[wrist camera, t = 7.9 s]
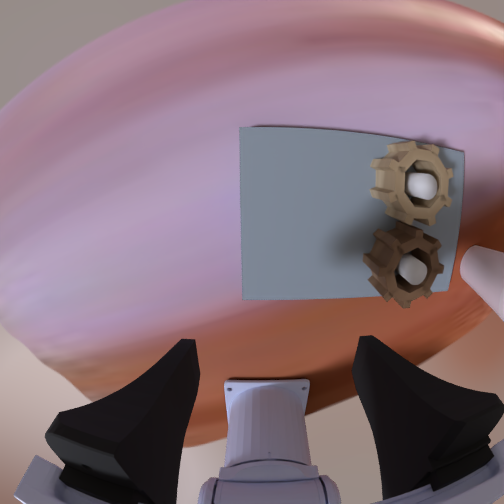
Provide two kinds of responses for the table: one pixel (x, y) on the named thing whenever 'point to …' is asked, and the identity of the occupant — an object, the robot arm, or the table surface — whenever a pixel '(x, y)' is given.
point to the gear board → (328, 213)
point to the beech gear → (393, 182)
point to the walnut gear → (389, 255)
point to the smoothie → (485, 275)
